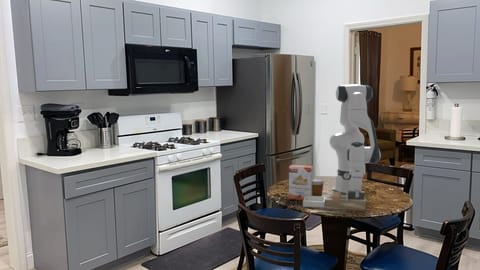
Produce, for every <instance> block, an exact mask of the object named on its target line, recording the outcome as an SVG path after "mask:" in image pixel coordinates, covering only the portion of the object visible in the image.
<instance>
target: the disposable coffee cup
mask: <svg viewBox="0 0 480 270" xmlns="http://www.w3.org/2000/svg"><path fill="white" fill-rule="evenodd" d="M324 184H325V181H324V178H320V177H319V178H316V177H315V178H314V177H313V181H312V196H323V191H324Z"/></svg>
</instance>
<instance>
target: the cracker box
mask: <svg viewBox="0 0 480 270" xmlns="http://www.w3.org/2000/svg"><path fill="white" fill-rule="evenodd" d="M313 178H314V166H313V165H299V164H295V165H294V164H291V165H289V166H288V197H289V200H296V201H297V200H298V201H303V200H304V198H305V195H307V196H312V181H313Z"/></svg>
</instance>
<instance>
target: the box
mask: <svg viewBox="0 0 480 270" xmlns="http://www.w3.org/2000/svg"><path fill="white" fill-rule="evenodd" d="M325 198H326V195H325V196H323V195H322V196H307V195H305V198H304V200H302V207H304V208H317V209H326V208H325Z"/></svg>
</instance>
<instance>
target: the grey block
mask: <svg viewBox="0 0 480 270" xmlns="http://www.w3.org/2000/svg"><path fill="white" fill-rule="evenodd" d="M345 195H346V201H348V199H363V200H364V199H365V200H366V196H365V195H366V194H365V191H362V190H361V191H359V197H356V193H355V191H348V190H346V193H345Z"/></svg>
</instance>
